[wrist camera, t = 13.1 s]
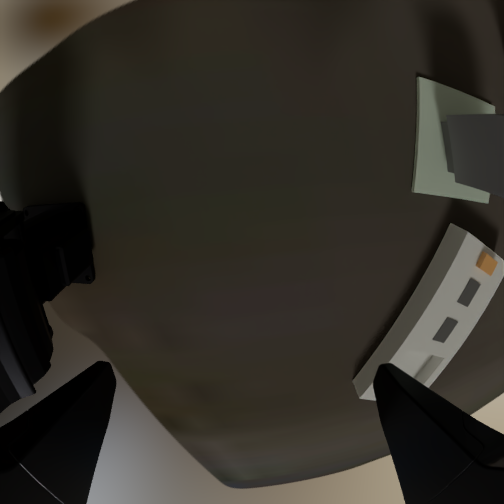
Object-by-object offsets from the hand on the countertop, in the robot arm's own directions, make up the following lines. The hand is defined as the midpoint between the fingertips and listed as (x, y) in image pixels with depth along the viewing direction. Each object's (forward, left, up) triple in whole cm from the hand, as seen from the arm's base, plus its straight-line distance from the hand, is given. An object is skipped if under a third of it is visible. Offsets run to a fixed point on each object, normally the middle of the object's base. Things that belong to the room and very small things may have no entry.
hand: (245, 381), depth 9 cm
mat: (+17, +9, -13) cm, 23 cm away
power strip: (+18, -7, -13) cm, 23 cm away
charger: (+17, +9, -13) cm, 23 cm away
